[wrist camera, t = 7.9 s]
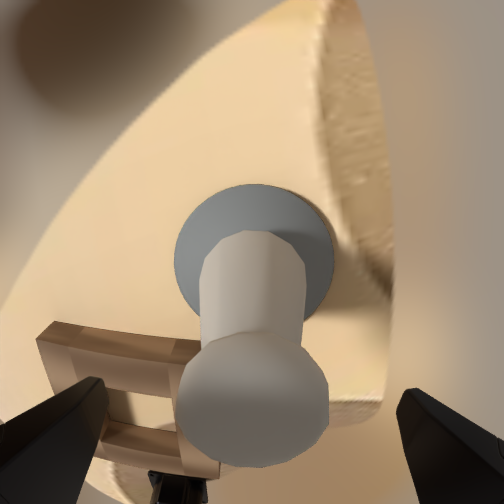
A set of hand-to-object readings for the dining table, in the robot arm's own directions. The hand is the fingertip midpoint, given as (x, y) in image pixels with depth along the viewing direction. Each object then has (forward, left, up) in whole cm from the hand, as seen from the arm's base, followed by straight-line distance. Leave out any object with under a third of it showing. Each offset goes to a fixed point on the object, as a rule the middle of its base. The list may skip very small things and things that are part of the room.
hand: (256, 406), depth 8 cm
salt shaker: (0, 0, -12) cm, 12 cm away
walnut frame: (-13, +9, -12) cm, 20 cm away
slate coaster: (0, 0, -12) cm, 12 cm away
